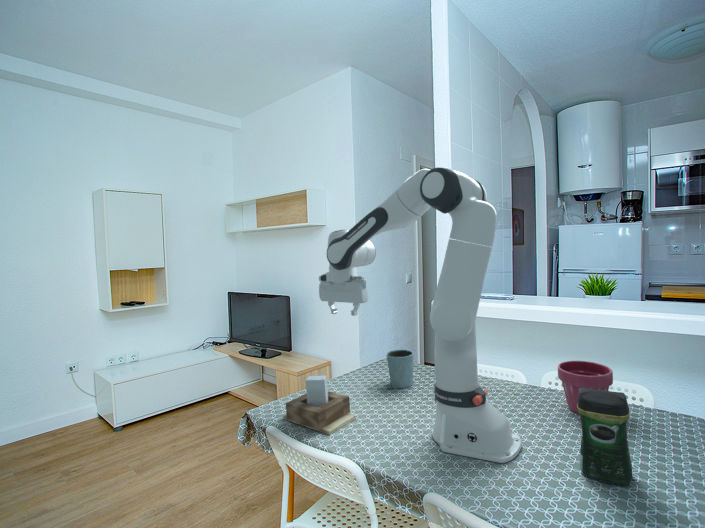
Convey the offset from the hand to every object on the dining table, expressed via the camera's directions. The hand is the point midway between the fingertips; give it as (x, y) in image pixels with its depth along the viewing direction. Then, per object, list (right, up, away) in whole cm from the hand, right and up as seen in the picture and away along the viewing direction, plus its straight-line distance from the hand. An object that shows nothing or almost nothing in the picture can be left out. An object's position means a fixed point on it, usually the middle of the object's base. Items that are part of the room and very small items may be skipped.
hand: (344, 314), depth 137 cm
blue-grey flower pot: (+22, -28, +8) cm, 36 cm away
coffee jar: (+58, -28, -53) cm, 84 cm away
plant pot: (+73, -26, -22) cm, 81 cm away
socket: (-8, -30, -17) cm, 36 cm away
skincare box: (-8, -30, -17) cm, 35 cm away
